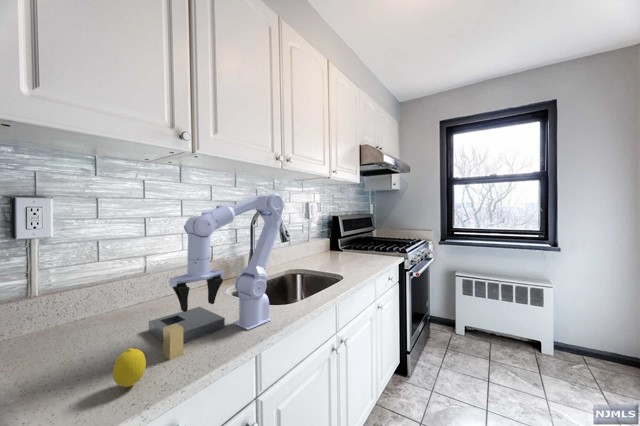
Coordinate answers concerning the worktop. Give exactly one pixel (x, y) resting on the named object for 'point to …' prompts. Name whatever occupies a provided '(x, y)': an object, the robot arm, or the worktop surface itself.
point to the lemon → (129, 367)
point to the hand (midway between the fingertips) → (198, 306)
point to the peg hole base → (189, 323)
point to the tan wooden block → (173, 341)
